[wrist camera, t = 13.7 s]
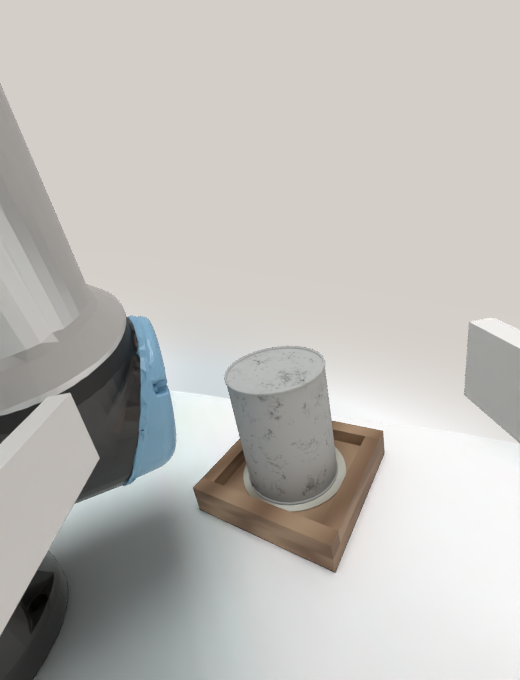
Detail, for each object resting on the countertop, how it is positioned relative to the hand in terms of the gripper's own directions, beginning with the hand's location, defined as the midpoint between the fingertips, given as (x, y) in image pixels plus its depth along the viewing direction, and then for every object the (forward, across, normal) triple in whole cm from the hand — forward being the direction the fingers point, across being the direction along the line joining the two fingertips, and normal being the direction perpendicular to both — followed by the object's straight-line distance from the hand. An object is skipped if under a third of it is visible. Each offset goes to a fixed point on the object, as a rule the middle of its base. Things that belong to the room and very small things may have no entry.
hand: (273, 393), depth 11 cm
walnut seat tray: (+19, 0, -23) cm, 29 cm away
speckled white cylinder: (+18, 0, -21) cm, 28 cm away
